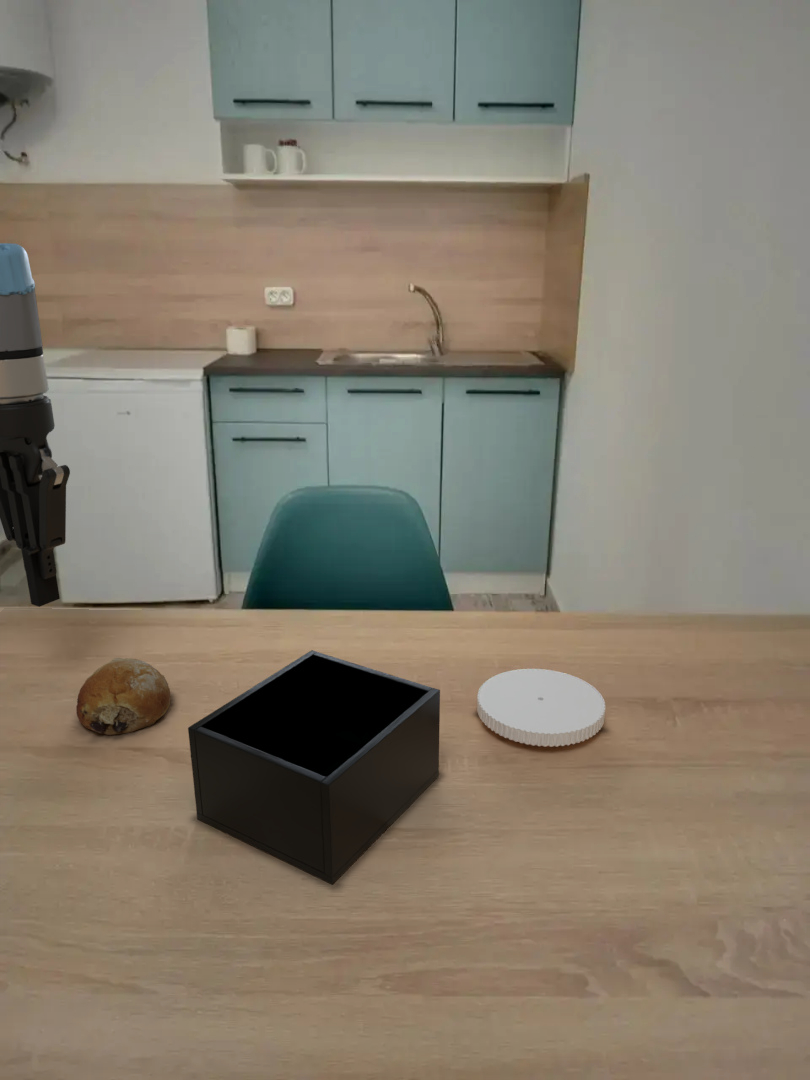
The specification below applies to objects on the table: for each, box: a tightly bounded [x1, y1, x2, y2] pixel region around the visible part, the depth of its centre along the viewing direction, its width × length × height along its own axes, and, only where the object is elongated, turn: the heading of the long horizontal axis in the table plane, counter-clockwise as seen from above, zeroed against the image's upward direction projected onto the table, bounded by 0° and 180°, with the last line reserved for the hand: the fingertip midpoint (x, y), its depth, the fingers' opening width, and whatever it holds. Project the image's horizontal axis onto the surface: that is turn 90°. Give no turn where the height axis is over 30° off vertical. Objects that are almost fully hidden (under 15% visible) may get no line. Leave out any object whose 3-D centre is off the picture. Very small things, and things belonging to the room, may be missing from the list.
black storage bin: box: [187, 649, 441, 885], centre depth 78 cm, size 16×18×10 cm
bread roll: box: [76, 657, 171, 736], centre depth 93 cm, size 10×10×8 cm
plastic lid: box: [476, 667, 606, 748], centre depth 92 cm, size 14×14×2 cm
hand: (45, 601), depth 96 cm, fingers closed
